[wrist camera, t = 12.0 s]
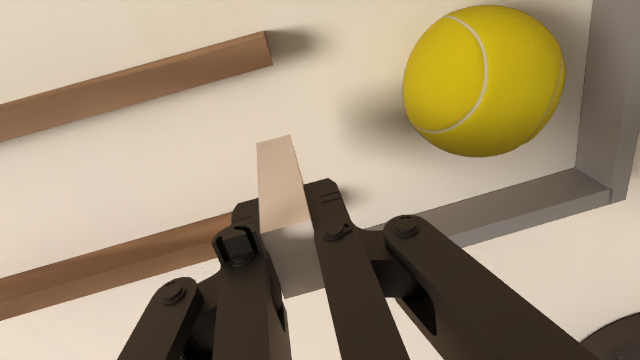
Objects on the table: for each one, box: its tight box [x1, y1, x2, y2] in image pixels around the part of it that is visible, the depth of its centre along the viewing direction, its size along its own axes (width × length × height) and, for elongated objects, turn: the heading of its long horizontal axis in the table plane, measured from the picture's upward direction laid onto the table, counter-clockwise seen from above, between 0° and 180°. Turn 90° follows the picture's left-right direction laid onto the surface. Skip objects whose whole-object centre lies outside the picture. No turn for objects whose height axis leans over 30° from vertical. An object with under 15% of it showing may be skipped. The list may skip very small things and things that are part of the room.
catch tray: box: [364, 0, 640, 248], centre depth 21 cm, size 19×17×3 cm
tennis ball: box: [402, 5, 565, 157], centre depth 19 cm, size 7×7×7 cm
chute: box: [0, 31, 273, 321], centre depth 21 cm, size 11×20×2 cm, turn 103°
